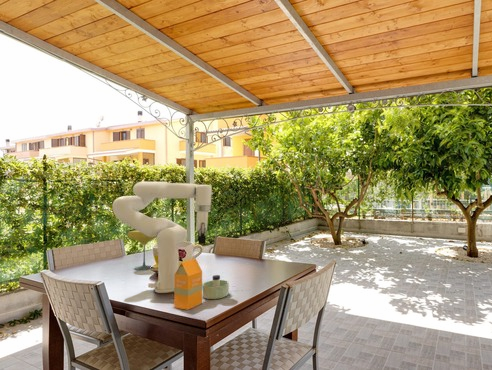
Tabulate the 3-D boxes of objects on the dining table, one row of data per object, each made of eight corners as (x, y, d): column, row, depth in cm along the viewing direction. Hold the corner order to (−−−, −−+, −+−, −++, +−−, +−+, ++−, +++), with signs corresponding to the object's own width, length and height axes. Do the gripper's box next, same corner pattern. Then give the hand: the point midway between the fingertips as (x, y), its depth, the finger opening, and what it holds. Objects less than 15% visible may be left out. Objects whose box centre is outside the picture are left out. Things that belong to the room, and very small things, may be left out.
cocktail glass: (137, 273, 196) (137, 232, 196) (122, 269, 206) (122, 230, 206) (165, 267, 211) (165, 229, 211) (150, 263, 221) (150, 227, 221)
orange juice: (174, 307, 139) (174, 261, 140) (188, 300, 147) (189, 257, 148) (188, 309, 136) (188, 263, 137) (202, 303, 145) (202, 259, 145)
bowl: (203, 301, 147) (203, 288, 147) (201, 293, 158) (201, 281, 158) (230, 297, 152) (230, 285, 152) (226, 290, 163) (226, 278, 163)
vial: (212, 296, 152) (213, 277, 152) (212, 293, 155) (212, 275, 156) (220, 295, 154) (220, 276, 154) (219, 293, 157) (219, 274, 157)
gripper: (194, 207, 169) (193, 239, 169) (195, 210, 153) (194, 245, 153) (209, 207, 172) (208, 239, 172) (212, 210, 156) (210, 245, 156)
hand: (201, 242), depth 162 cm, fingers open, 9 cm apart
